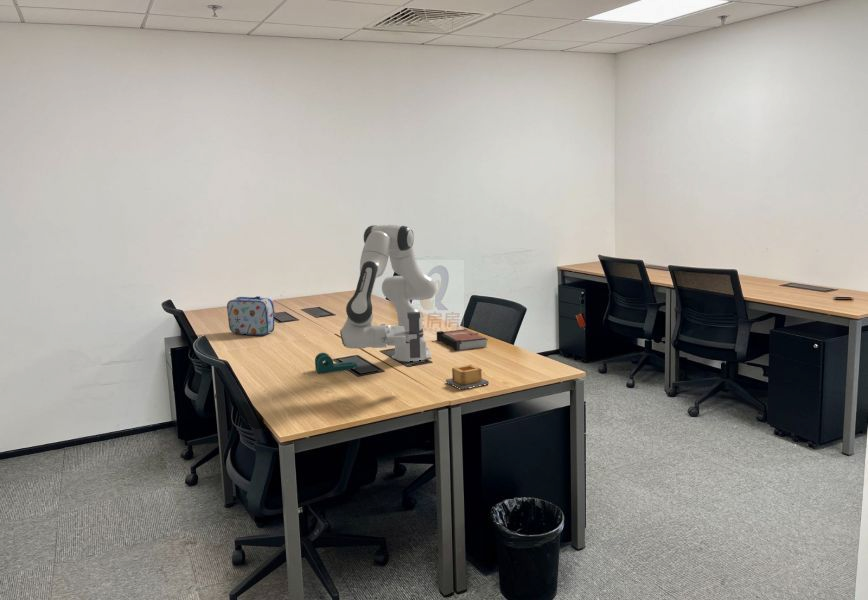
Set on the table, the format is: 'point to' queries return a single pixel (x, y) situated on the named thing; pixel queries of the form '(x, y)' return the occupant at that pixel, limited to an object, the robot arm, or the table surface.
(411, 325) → the tall dark grey post
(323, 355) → the bracket
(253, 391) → the table surface
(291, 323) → the table surface
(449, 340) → the book
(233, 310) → the lunch box
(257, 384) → the table surface
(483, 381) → the frame on grey plate
